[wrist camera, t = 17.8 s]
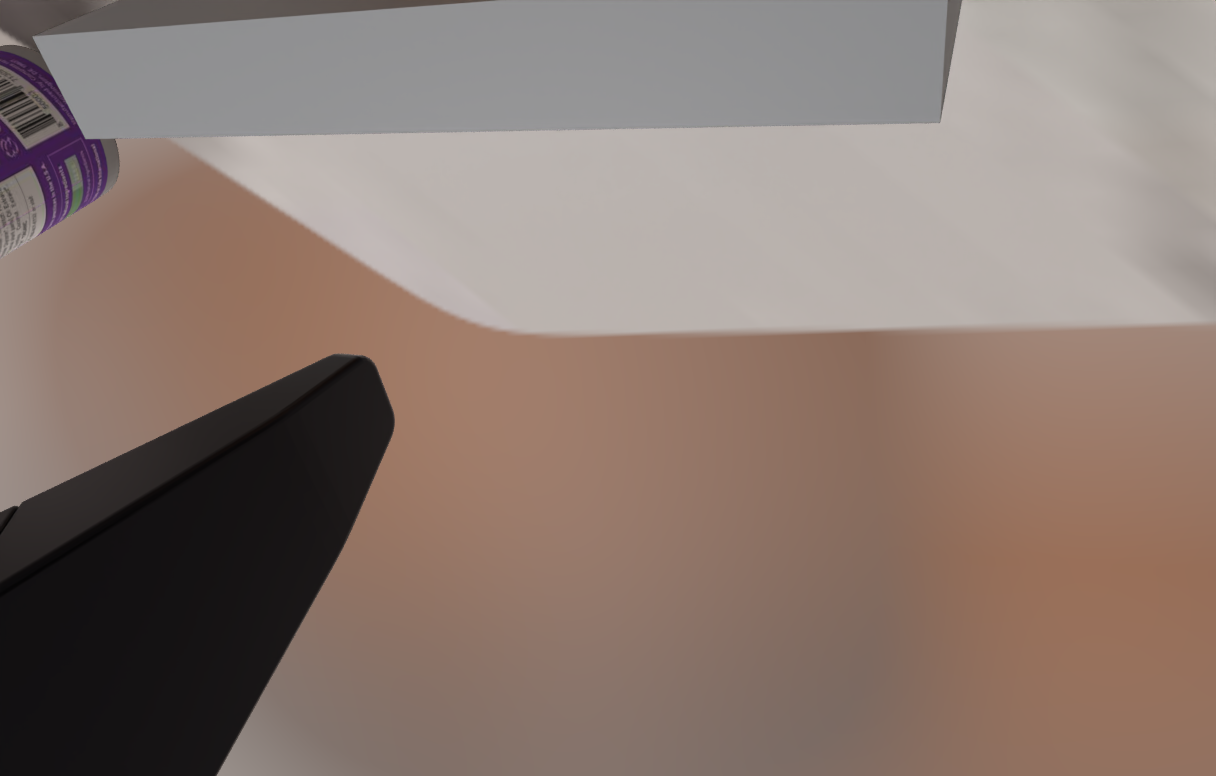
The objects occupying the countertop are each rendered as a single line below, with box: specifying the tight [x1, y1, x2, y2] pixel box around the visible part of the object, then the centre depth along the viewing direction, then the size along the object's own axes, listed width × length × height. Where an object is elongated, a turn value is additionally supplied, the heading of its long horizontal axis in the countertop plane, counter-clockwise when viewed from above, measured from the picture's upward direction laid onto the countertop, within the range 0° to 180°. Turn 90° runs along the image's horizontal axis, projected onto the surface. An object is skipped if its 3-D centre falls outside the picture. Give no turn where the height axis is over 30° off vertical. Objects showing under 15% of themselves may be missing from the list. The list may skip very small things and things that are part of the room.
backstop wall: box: [32, 0, 962, 139], centre depth 17 cm, size 16×2×6 cm, turn 99°
